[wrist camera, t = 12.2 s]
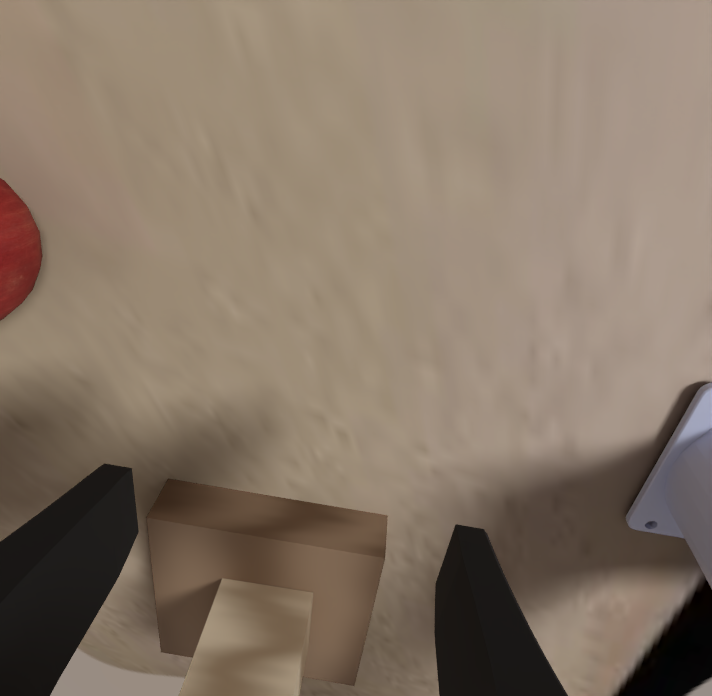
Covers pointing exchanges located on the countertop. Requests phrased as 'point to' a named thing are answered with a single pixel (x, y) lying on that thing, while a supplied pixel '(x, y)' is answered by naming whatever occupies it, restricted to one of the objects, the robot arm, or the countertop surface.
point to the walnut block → (266, 565)
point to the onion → (16, 250)
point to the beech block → (252, 642)
